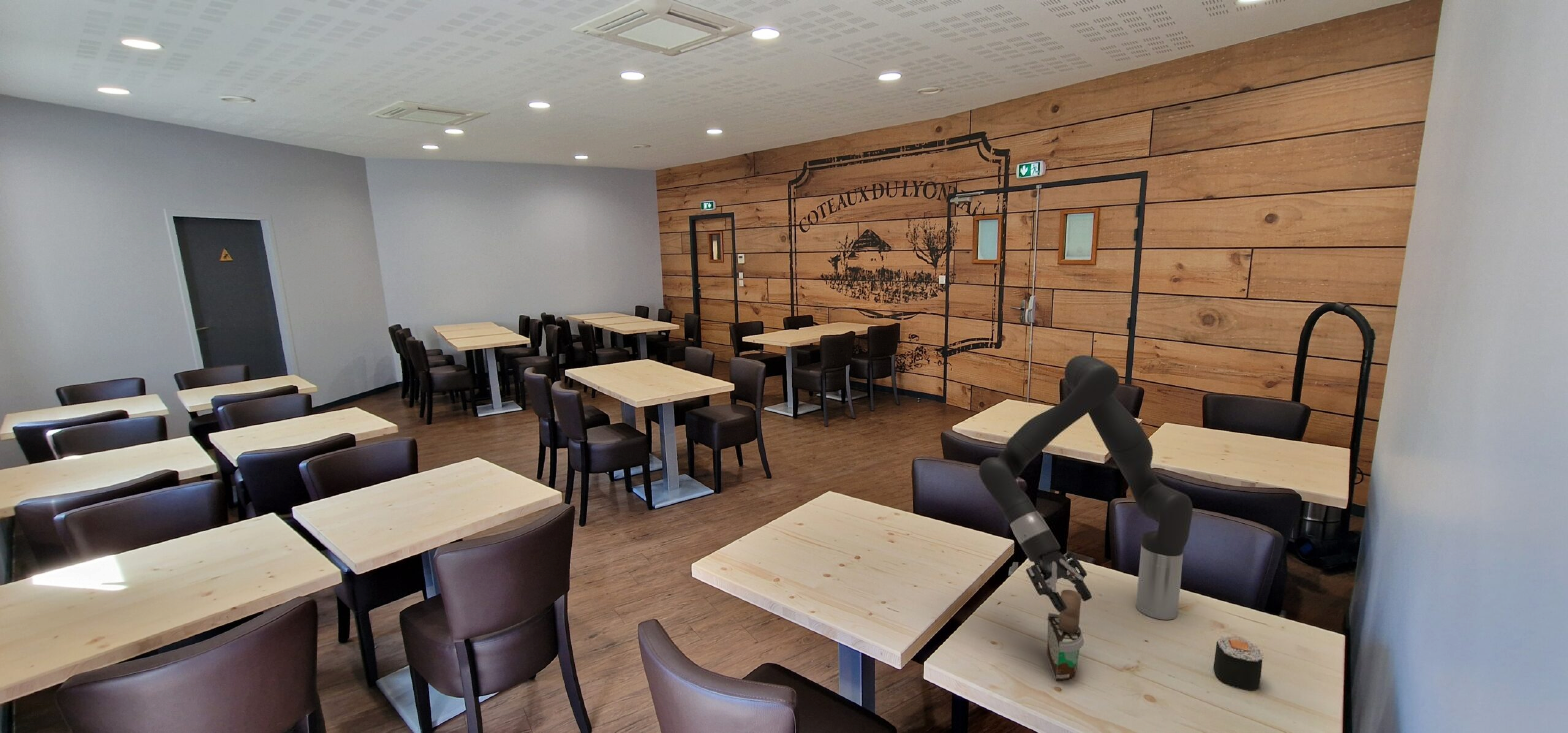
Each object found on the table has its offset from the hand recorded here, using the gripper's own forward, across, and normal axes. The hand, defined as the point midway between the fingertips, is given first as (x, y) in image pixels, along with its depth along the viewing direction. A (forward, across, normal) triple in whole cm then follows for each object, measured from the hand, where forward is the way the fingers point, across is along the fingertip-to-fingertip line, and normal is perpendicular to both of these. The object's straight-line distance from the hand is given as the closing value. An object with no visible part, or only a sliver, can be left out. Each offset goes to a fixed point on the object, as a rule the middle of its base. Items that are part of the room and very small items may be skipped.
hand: (1076, 605), depth 136 cm
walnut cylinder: (+3, 0, +5) cm, 6 cm away
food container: (+11, 0, +13) cm, 16 cm away
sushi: (+26, +29, -2) cm, 39 cm away
